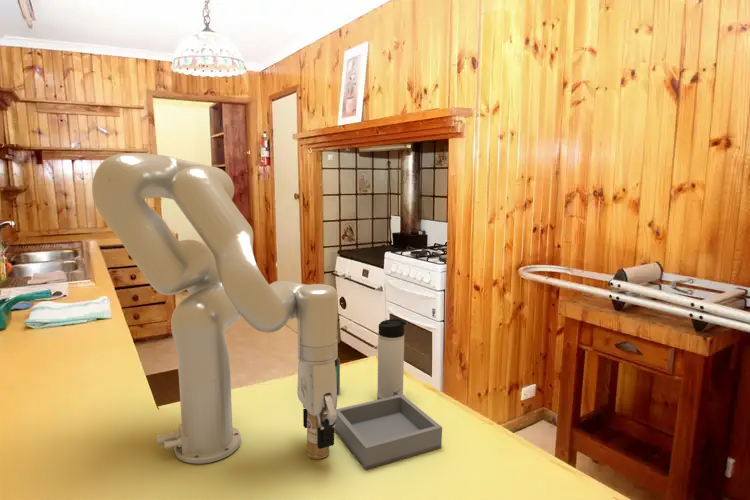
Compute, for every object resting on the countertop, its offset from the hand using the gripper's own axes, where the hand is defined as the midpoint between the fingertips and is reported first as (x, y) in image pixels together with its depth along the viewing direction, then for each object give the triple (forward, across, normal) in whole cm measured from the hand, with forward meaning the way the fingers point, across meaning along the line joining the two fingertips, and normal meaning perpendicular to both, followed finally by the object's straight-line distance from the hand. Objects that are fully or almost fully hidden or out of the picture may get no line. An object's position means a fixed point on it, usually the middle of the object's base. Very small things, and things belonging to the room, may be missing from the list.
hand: (318, 435), depth 94 cm
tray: (+4, +1, +14) cm, 15 cm away
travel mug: (+4, -14, +24) cm, 28 cm away
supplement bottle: (+4, -24, +11) cm, 27 cm away
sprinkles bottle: (+4, 0, 0) cm, 4 cm away
